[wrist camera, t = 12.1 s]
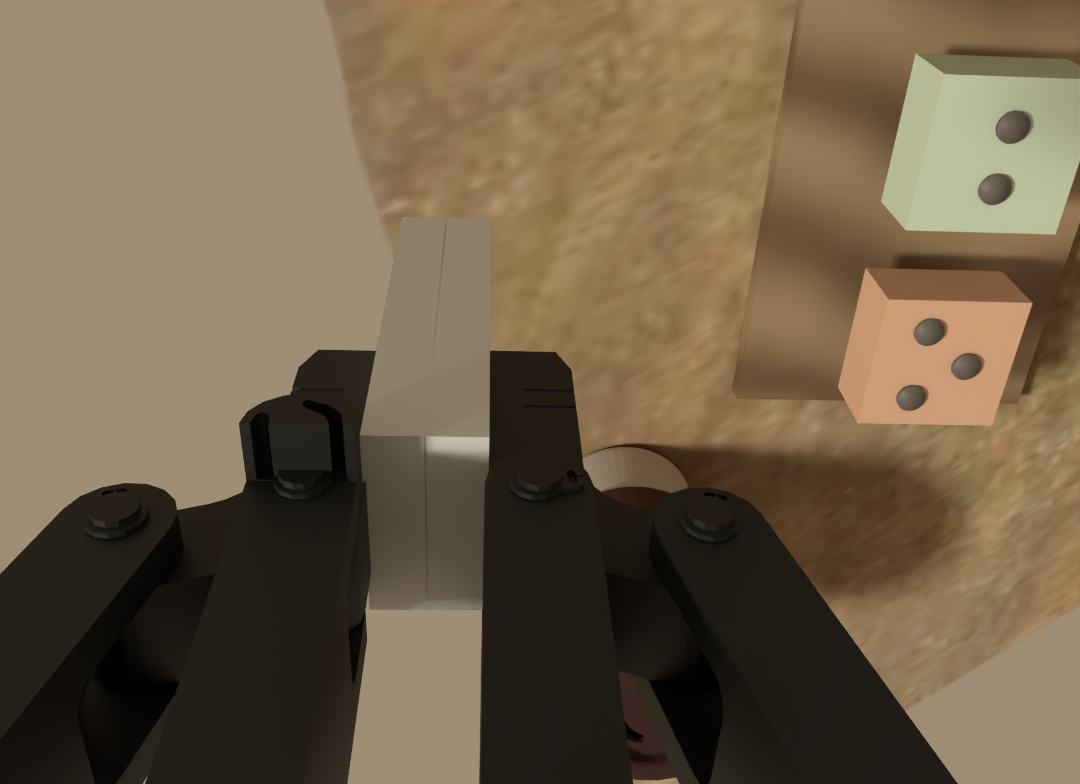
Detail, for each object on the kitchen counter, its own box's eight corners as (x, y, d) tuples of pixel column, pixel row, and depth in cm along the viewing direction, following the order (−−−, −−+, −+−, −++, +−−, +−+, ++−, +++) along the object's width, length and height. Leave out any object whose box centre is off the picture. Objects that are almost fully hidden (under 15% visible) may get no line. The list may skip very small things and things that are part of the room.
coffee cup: (707, 407, 51) (778, 623, 38) (718, 556, 56) (784, 790, 44) (511, 436, 52) (517, 659, 39) (540, 581, 57) (554, 820, 44)
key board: (848, -295, 36) (867, -297, 34) (1232, -273, 37) (1272, -274, 35) (732, 387, 51) (741, 412, 49) (1008, 392, 51) (1028, 417, 50)
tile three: (865, 267, 44) (889, 301, 41) (1001, 271, 44) (1034, 305, 42) (837, 386, 47) (858, 425, 44) (965, 389, 48) (993, 427, 45)
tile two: (915, 53, 39) (946, 75, 37) (1067, 59, 40) (1109, 81, 37) (881, 201, 42) (907, 232, 40) (1022, 205, 43) (1057, 236, 40)
